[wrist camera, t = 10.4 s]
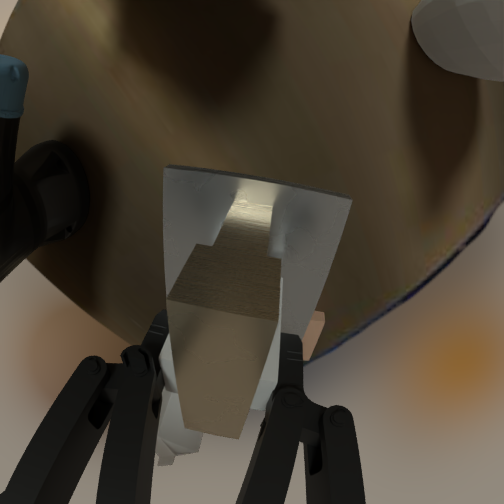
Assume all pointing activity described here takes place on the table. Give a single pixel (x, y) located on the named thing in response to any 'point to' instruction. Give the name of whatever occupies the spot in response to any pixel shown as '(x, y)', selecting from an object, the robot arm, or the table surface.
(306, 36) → the table surface
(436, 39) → the bottle
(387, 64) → the table surface
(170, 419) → the milk
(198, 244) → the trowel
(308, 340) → the tile
